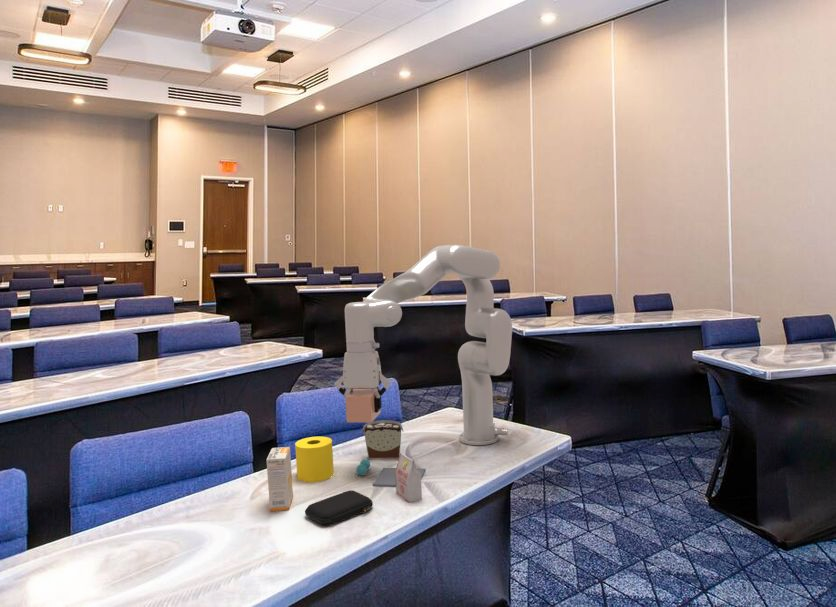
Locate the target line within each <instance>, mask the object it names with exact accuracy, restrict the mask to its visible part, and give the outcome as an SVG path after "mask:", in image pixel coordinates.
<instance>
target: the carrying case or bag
mask: <svg viewBox="0 0 836 607" xmlns="http://www.w3.org/2000/svg"><path fill="white" fill-rule="evenodd" d="M373 506H374V503H373V500H372V499H371V498H370V497H369V496H366V495H364V494H363V493H362V494H361V493H359V492H357V491H355V490H354V489H353V490H347V491H343V492H341V493H337V494H335V495H333V496H329V497H326V498H324V499H321V500H318V501H315V502H312V503H311V504H309V505H308V506H307V507H306V508H305V510H304V514H305V516H307V517H308V518H309V519H310V520H312V521H314V522H316V523H318V524H320V525H321V526H325V527H328V526H329V527H330V526H332V525H334V524H338V523H339V522H343V521H344V520H347V519H350V518H352V517H354V516H358V515H359V514H362V513H363V514H364V513H367V512H368V511H369V510H370V509H372V507H373Z"/></svg>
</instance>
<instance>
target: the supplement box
mask: <svg viewBox="0 0 836 607" xmlns="http://www.w3.org/2000/svg"><path fill="white" fill-rule="evenodd" d="M291 456H292V454H291V447H290V446H287V447H285V446H284V447H282V446H281V447H272V448H271V449H270V452H269V453H268V456H267V458H266V461H265V462H266V472H267V486H268V502H269V511H270V512H279V511H288V510H290V508H291V505H292V501H293V497H294V491H293V490H294V489H293V475H292V474H293V473H292V459H291V458H292V457H291Z"/></svg>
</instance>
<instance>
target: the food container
mask: <svg viewBox="0 0 836 607" xmlns="http://www.w3.org/2000/svg"><path fill="white" fill-rule="evenodd" d="M402 432H404V427H403V425H402V423H400V422H399V421H397V420H383V419H382V420H374V421H373V422H372V423H367V422H366V424H364V425H363V427H362V430H361V433H362V434H363V433H364V434H363V435H364V441H365V447H366V452H367V459H368V460H378V459H379V460H387V459H388V460H389V459H390V460H393V459H394V460H399V458H400V454H401V441H402V440H401V439H402Z"/></svg>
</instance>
